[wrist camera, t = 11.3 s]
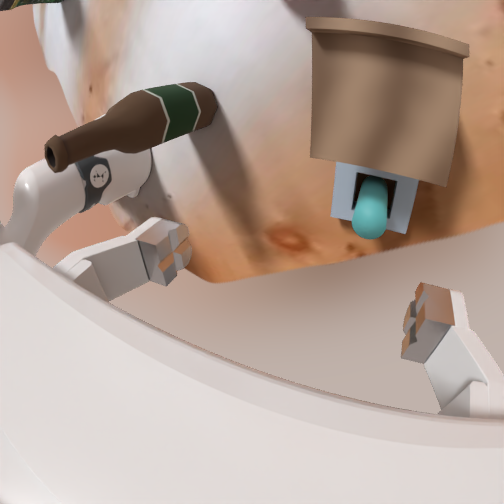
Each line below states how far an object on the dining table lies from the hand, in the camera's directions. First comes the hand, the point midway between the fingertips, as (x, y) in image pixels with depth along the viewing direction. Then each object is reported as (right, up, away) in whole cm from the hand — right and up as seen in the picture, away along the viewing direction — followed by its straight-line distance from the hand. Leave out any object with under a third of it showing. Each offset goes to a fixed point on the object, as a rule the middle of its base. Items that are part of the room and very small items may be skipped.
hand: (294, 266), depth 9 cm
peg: (+14, +9, +24) cm, 29 cm away
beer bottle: (-9, +22, +28) cm, 37 cm away
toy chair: (+14, +18, +17) cm, 28 cm away
